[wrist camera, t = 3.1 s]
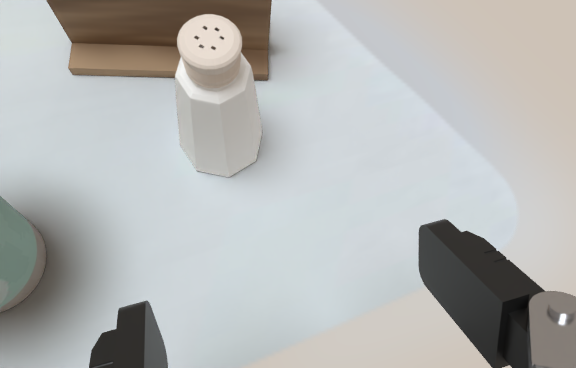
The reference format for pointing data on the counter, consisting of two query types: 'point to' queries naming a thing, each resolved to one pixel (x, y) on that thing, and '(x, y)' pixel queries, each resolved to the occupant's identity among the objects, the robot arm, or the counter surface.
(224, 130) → the pepper shaker
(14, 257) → the coffee cup
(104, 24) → the screen
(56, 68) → the counter surface
